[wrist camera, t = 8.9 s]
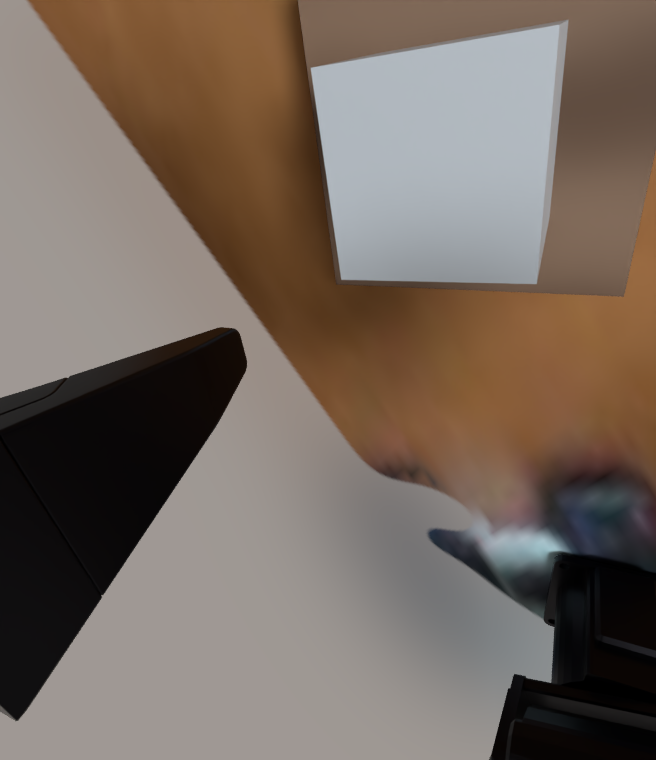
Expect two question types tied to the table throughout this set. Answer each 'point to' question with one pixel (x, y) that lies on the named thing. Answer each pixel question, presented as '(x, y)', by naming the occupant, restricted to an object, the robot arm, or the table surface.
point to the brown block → (575, 129)
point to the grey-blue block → (444, 156)
